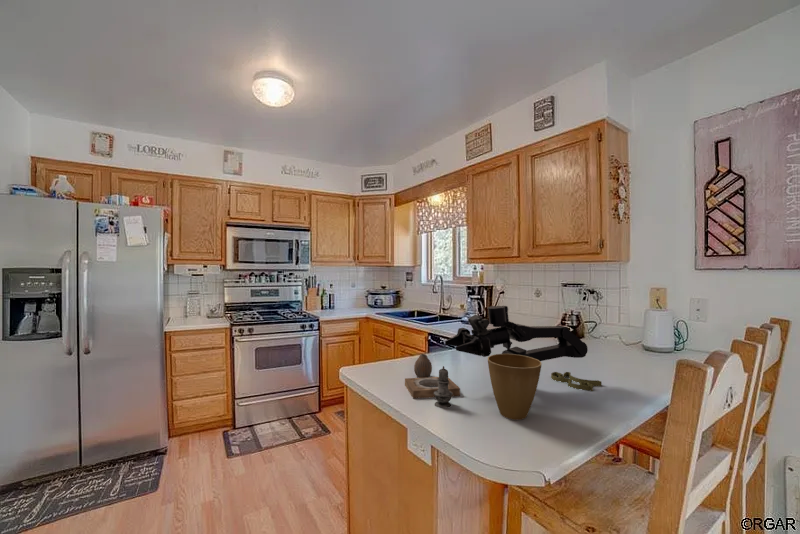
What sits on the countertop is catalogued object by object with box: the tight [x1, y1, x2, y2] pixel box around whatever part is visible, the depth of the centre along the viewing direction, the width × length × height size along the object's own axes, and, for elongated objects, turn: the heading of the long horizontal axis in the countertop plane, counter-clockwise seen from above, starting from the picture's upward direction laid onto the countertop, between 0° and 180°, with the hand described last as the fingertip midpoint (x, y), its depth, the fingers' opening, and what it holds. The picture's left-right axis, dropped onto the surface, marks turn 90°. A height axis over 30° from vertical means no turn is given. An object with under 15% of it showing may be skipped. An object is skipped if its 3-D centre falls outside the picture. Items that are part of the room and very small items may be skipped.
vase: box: [413, 353, 433, 378], centre depth 136 cm, size 7×7×9 cm
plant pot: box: [487, 353, 543, 421], centre depth 102 cm, size 15×15×16 cm
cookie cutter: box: [550, 371, 603, 392], centre depth 132 cm, size 18×12×2 cm, turn 29°
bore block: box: [404, 376, 461, 399], centre depth 121 cm, size 16×13×2 cm
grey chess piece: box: [434, 365, 453, 409], centre depth 109 cm, size 6×6×12 cm
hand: (450, 345), depth 117 cm, fingers open, 9 cm apart
